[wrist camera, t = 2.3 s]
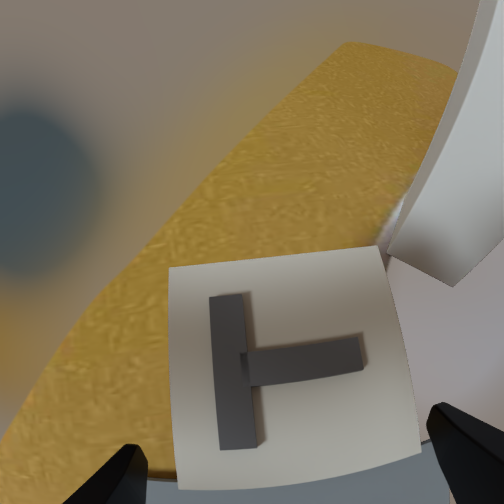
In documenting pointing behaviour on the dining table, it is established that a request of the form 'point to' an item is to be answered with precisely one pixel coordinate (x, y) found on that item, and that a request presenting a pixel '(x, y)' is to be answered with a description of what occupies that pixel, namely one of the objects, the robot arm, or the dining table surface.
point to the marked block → (287, 370)
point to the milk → (461, 166)
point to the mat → (329, 487)
